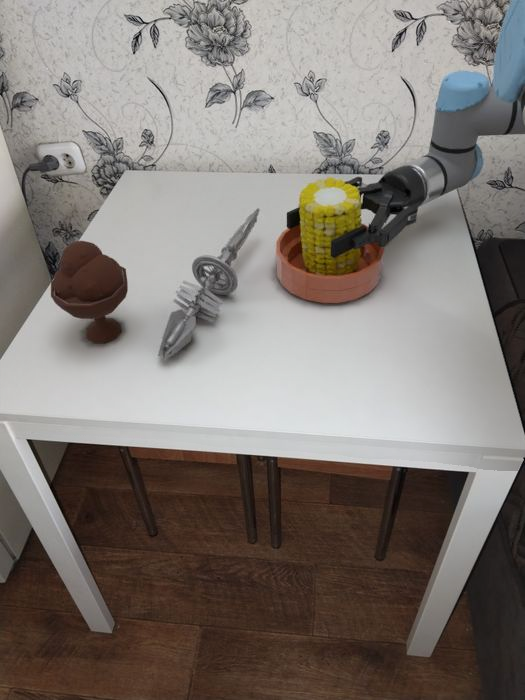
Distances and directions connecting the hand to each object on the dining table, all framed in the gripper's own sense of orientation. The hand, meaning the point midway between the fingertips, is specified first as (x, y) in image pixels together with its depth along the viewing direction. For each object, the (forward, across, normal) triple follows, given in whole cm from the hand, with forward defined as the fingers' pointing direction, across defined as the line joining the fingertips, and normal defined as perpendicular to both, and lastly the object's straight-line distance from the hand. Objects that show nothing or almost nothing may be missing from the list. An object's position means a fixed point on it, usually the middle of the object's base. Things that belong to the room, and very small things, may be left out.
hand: (309, 234), depth 91 cm
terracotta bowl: (-4, 0, -9) cm, 10 cm away
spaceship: (+13, +7, -10) cm, 18 cm away
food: (-4, 0, -8) cm, 9 cm away
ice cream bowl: (+32, +11, -10) cm, 35 cm away
